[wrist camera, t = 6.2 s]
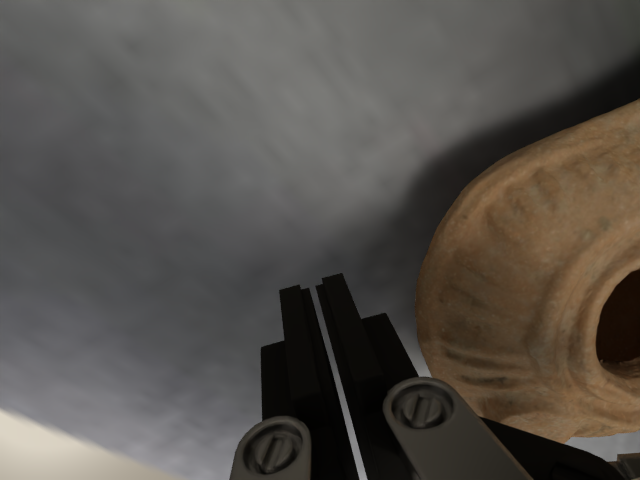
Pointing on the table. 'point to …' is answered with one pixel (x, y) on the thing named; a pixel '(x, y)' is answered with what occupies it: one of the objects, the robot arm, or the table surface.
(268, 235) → the table surface
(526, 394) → the pottery oil lamp
